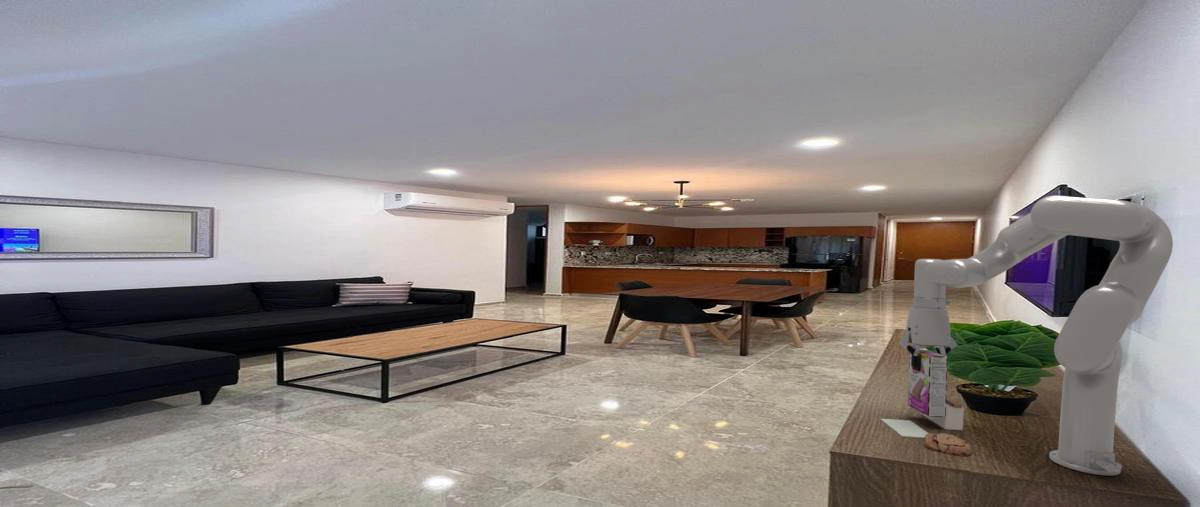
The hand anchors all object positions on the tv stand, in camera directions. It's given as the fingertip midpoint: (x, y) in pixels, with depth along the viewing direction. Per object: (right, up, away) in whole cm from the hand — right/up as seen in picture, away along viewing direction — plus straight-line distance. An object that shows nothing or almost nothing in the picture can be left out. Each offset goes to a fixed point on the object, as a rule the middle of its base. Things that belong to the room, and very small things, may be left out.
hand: (927, 369), depth 161 cm
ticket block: (+5, -15, +2) cm, 16 cm away
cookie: (-6, -16, -19) cm, 25 cm away
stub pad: (-9, -15, -5) cm, 18 cm away
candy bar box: (0, -12, 0) cm, 12 cm away
